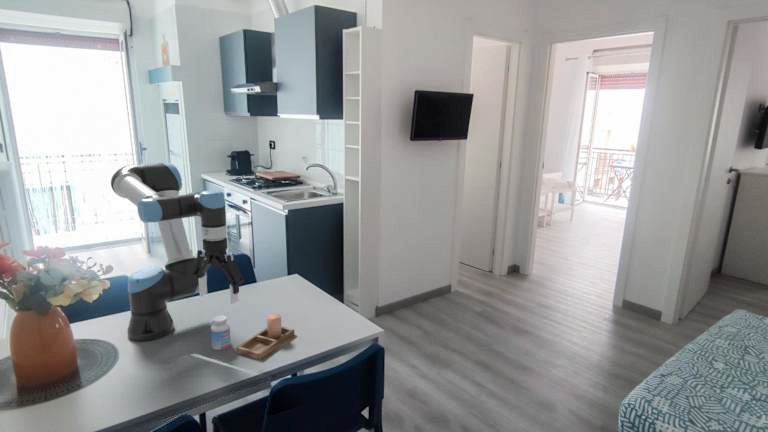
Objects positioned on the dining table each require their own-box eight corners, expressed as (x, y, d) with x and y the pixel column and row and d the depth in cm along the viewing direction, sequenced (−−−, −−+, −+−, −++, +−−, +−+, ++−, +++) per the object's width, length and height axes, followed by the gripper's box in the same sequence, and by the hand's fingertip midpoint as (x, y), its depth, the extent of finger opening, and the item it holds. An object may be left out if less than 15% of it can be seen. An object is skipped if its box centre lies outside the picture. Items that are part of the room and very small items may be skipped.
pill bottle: (224, 353, 147) (222, 323, 144) (208, 351, 148) (206, 321, 145) (234, 345, 152) (232, 315, 150) (218, 342, 154) (216, 313, 151)
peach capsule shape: (264, 339, 155) (263, 318, 153) (273, 333, 159) (272, 313, 158) (276, 342, 153) (275, 321, 151) (284, 336, 157) (284, 315, 156)
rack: (234, 354, 146) (233, 346, 145) (270, 330, 163) (269, 323, 162) (262, 363, 141) (262, 355, 141) (296, 337, 158) (296, 330, 158)
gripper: (177, 235, 143) (182, 295, 148) (236, 245, 134) (240, 309, 138) (195, 230, 150) (199, 288, 154) (252, 240, 140) (255, 301, 145)
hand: (218, 298), depth 146 cm, fingers open, 13 cm apart
